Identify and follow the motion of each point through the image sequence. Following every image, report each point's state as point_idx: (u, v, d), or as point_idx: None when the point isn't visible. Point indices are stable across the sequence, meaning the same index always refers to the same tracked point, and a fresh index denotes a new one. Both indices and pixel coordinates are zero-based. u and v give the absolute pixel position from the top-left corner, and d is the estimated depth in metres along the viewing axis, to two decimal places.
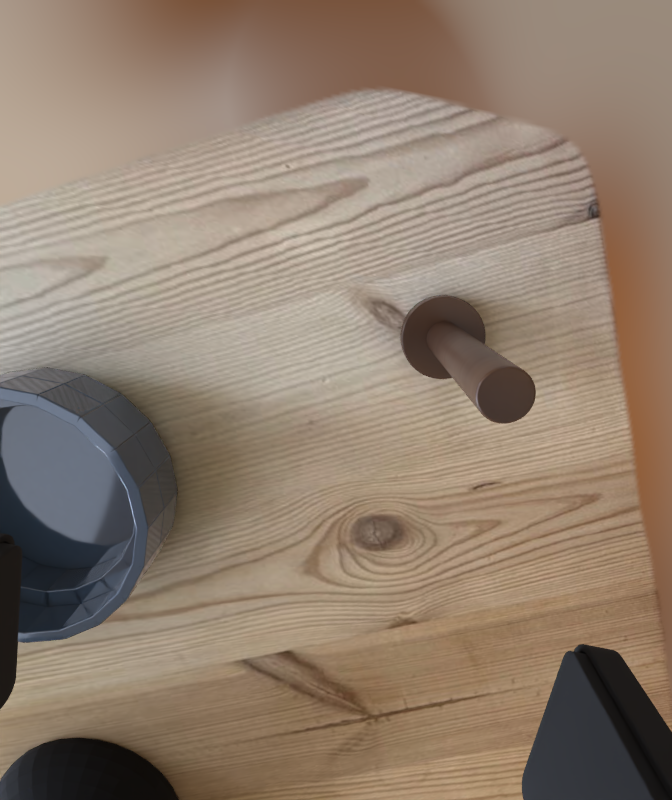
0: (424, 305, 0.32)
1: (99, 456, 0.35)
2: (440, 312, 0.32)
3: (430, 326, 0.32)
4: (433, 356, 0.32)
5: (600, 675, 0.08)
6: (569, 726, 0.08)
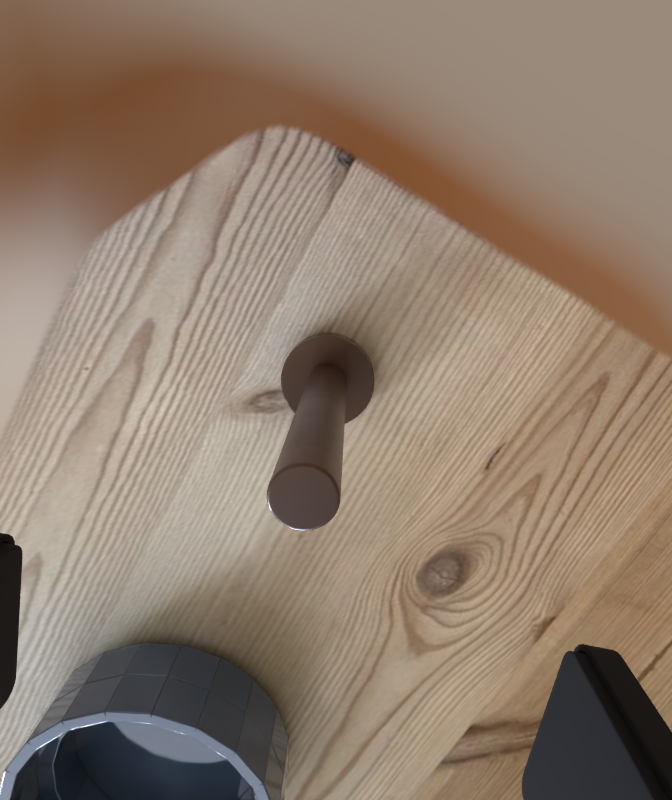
0: (285, 372, 0.28)
1: None
2: (303, 365, 0.28)
3: (307, 383, 0.28)
4: None
5: (600, 675, 0.08)
6: (569, 726, 0.08)
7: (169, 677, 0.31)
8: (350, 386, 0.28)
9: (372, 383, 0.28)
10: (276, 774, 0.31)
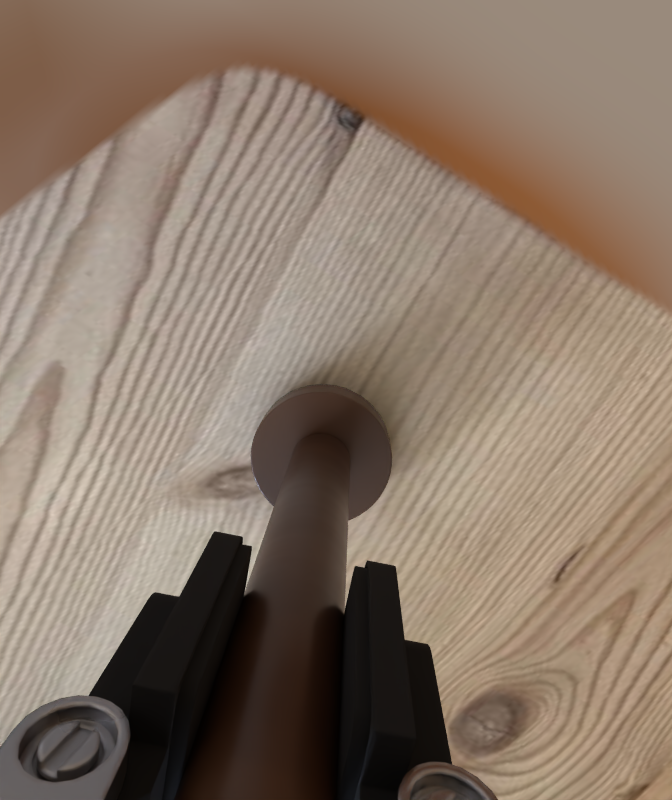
0: (257, 445, 0.19)
1: None
2: (284, 435, 0.19)
3: (289, 462, 0.19)
4: None
5: (372, 583, 0.10)
6: (345, 628, 0.10)
7: None
8: (356, 467, 0.19)
9: (389, 462, 0.19)
10: None
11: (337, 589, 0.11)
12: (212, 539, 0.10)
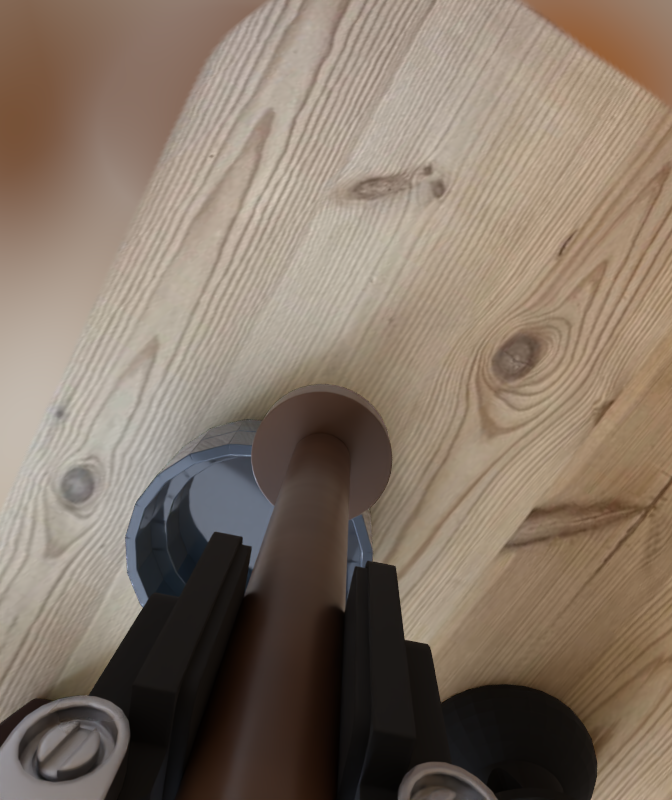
0: (258, 445, 0.19)
1: None
2: (284, 435, 0.19)
3: (290, 462, 0.19)
4: None
5: (372, 583, 0.10)
6: (345, 628, 0.10)
7: None
8: (356, 466, 0.19)
9: (389, 462, 0.19)
10: (368, 524, 0.35)
11: (338, 589, 0.11)
12: (212, 539, 0.10)
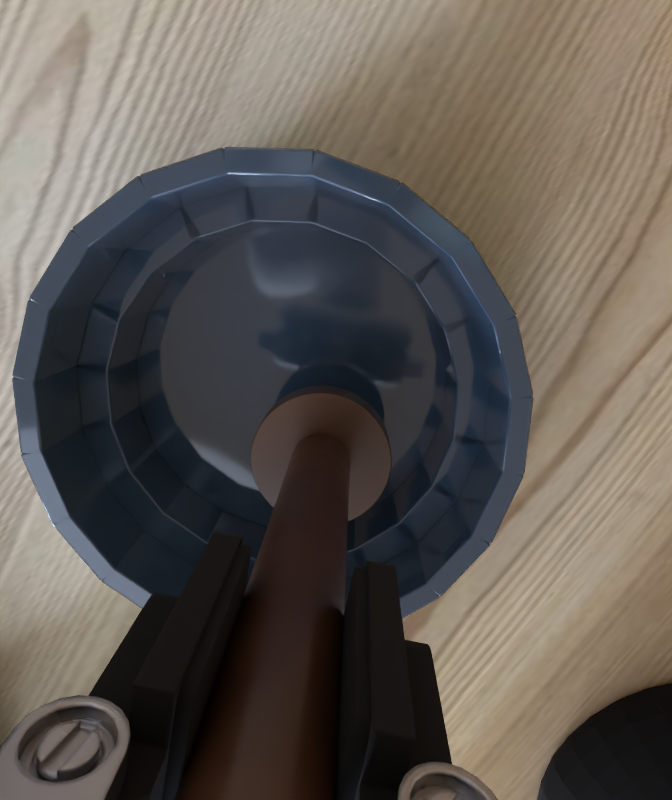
0: (257, 446, 0.19)
1: (304, 296, 0.21)
2: (283, 436, 0.19)
3: (289, 463, 0.19)
4: None
5: (372, 583, 0.10)
6: (345, 628, 0.10)
7: None
8: (355, 468, 0.19)
9: (389, 464, 0.19)
10: None
11: (337, 591, 0.11)
12: (212, 539, 0.10)
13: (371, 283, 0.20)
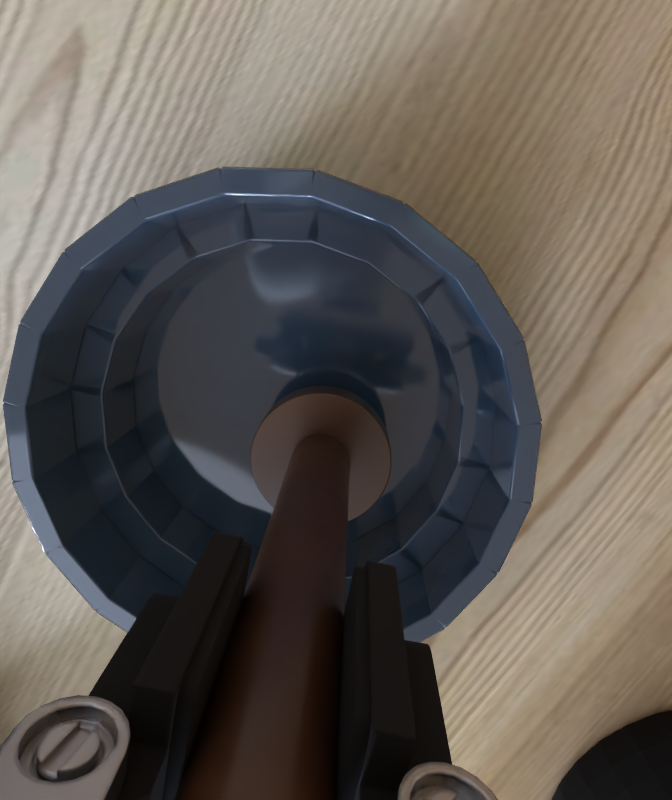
0: (257, 446, 0.19)
1: (304, 315, 0.20)
2: (283, 436, 0.19)
3: (289, 463, 0.19)
4: None
5: (372, 582, 0.10)
6: (345, 628, 0.10)
7: None
8: (355, 468, 0.19)
9: (389, 464, 0.19)
10: None
11: (337, 591, 0.11)
12: (212, 539, 0.10)
13: (373, 301, 0.20)
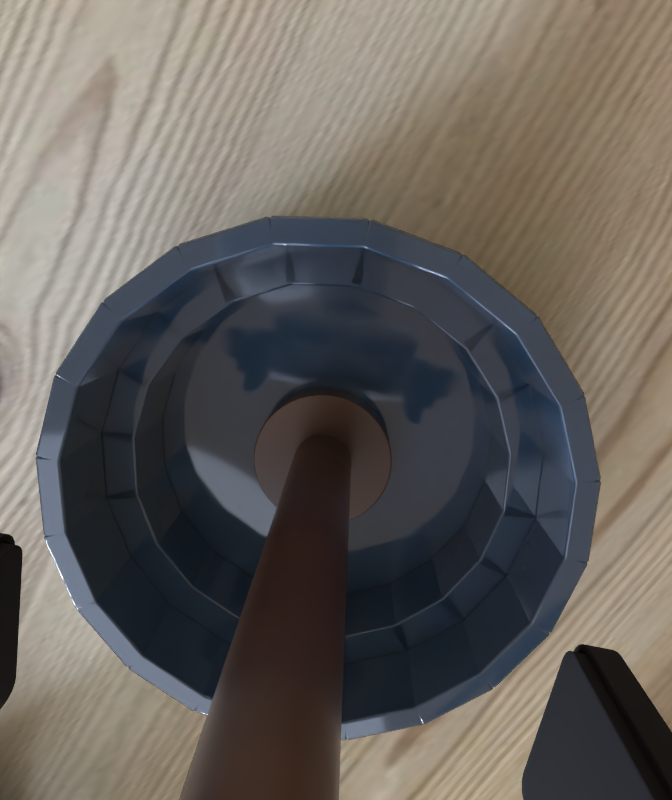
0: (260, 446, 0.19)
1: (341, 354, 0.19)
2: (286, 437, 0.19)
3: (292, 463, 0.19)
4: None
5: (601, 675, 0.08)
6: (569, 726, 0.08)
7: None
8: (356, 468, 0.19)
9: (389, 464, 0.19)
10: None
11: (339, 585, 0.11)
12: None
13: (413, 341, 0.19)
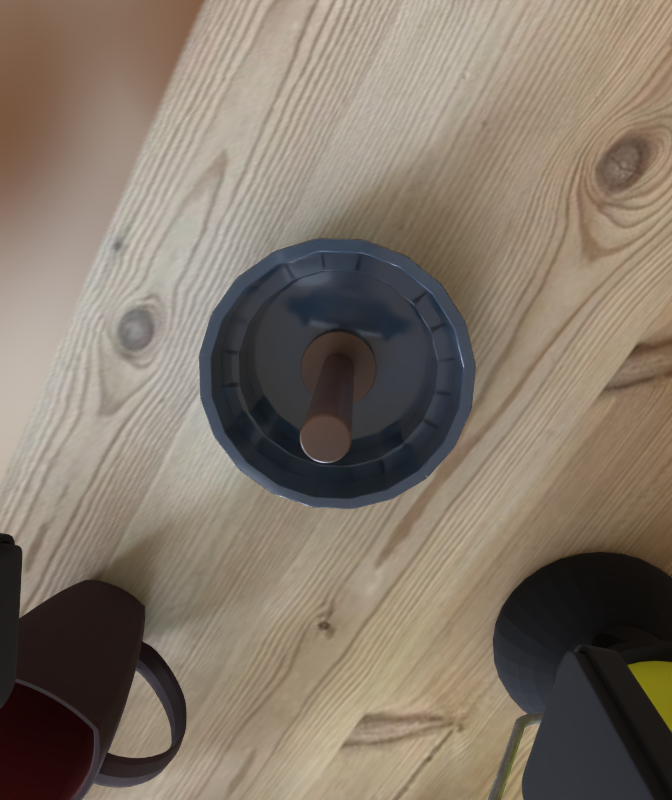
0: (304, 361, 0.35)
1: (348, 310, 0.35)
2: (318, 355, 0.35)
3: (321, 370, 0.35)
4: None
5: (600, 675, 0.08)
6: (569, 726, 0.08)
7: None
8: (357, 373, 0.35)
9: (375, 370, 0.35)
10: None
11: (350, 392, 0.27)
12: None
13: (388, 303, 0.35)
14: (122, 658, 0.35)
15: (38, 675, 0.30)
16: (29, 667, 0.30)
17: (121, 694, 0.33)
